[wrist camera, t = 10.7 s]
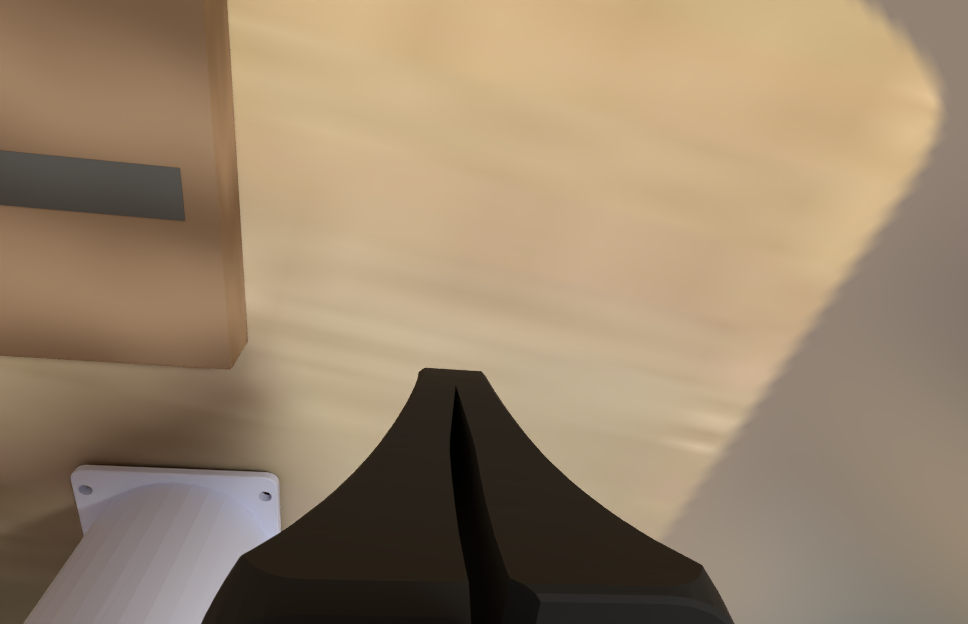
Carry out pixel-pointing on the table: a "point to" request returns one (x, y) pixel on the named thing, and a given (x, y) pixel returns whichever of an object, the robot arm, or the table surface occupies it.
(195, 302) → the fader console
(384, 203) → the table surface
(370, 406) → the table surface
